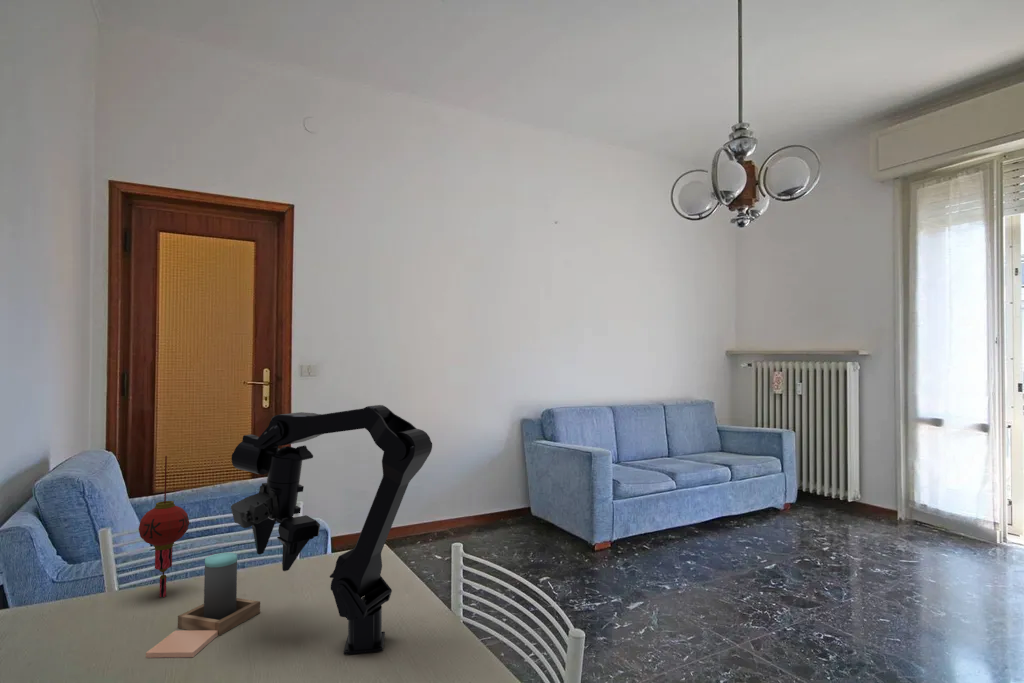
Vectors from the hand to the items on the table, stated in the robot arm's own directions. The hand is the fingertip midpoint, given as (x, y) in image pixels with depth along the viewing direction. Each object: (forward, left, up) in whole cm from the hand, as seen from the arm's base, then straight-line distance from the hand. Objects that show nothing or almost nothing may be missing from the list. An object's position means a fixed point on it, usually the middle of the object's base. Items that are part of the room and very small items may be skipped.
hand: (272, 561), depth 104 cm
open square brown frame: (+6, +11, -12) cm, 17 cm away
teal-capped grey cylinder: (+6, +11, -12) cm, 17 cm away
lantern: (+21, +27, -13) cm, 36 cm away
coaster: (-4, +14, -12) cm, 19 cm away
